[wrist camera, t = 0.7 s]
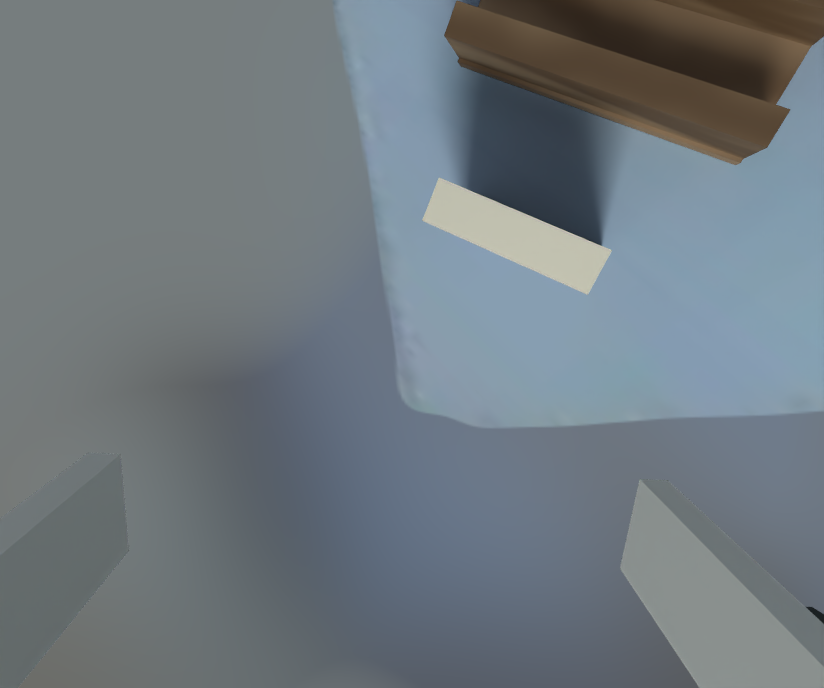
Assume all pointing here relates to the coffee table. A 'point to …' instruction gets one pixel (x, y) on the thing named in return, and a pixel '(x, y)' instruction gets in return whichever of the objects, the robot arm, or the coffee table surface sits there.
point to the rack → (650, 61)
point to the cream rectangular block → (516, 236)
